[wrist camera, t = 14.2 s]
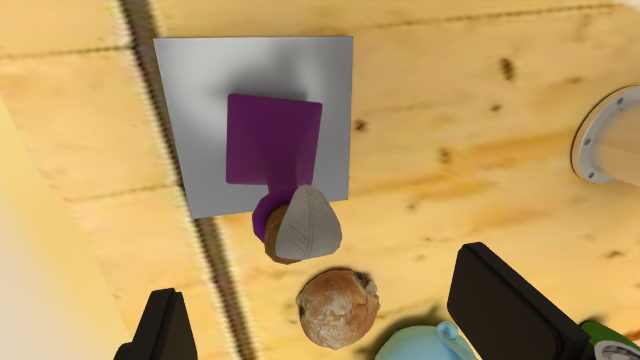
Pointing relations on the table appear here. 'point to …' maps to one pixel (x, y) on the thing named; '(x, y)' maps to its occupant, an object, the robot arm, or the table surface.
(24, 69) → the table surface
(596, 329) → the bell pepper
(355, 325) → the bread roll
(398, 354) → the decorative pot
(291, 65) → the slate tile
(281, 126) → the perfume bottle
